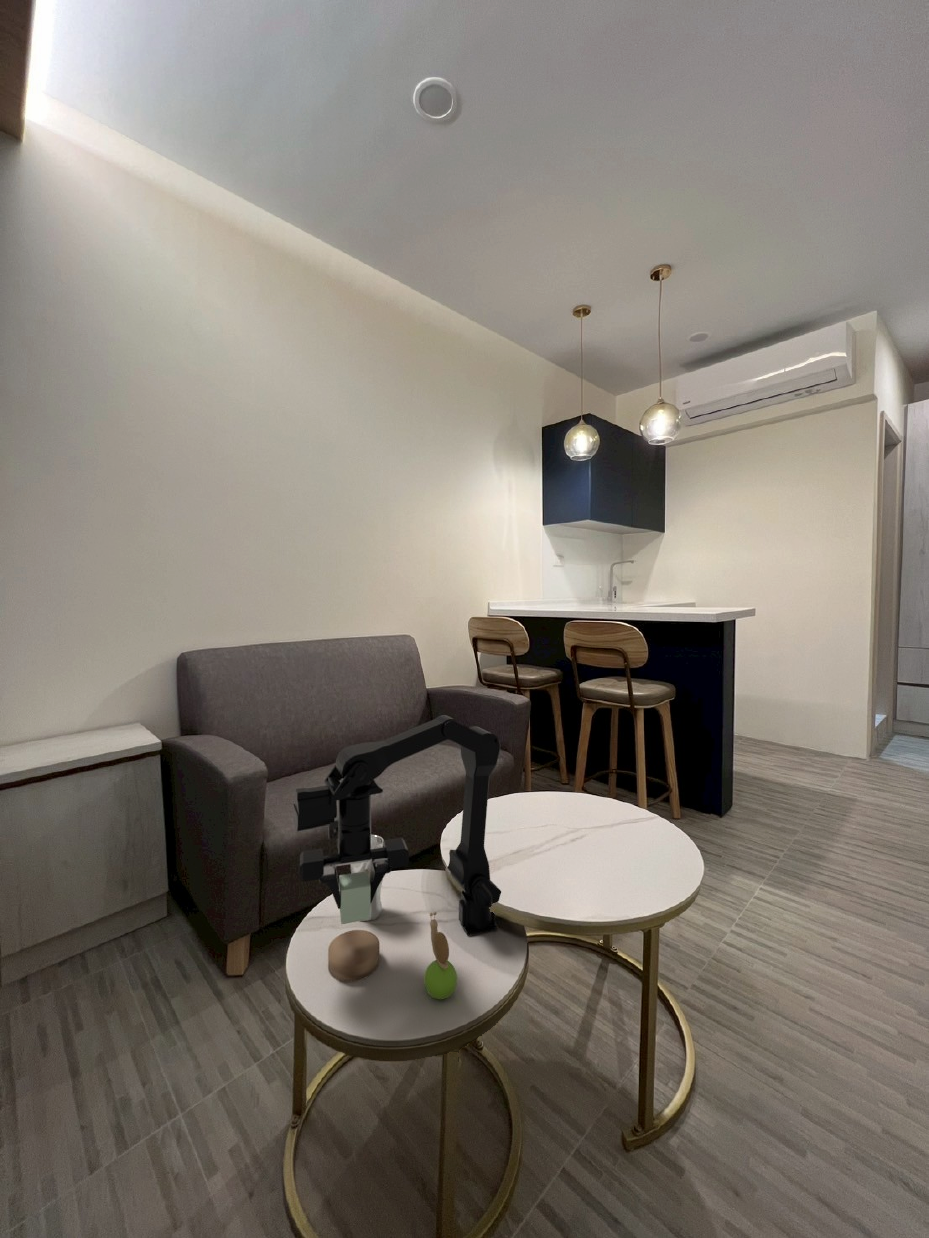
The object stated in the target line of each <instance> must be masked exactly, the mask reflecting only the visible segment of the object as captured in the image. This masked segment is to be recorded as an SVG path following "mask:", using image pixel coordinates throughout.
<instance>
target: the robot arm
mask: <svg viewBox="0 0 929 1238" xmlns="http://www.w3.org/2000/svg"><path fill="white" fill-rule="evenodd" d="M449 740H450V741H452V742H454V743H455V744H457V745H460V756H461V759H462V763H463V766H464V770H465V780H464V781H465V782H464V790H463V791H464V795H463V804H462V805H463V806H462V807H463V808H462V819H461V829H460V830H461V831H460V833H461V834H460V841H459V844H458V845H457V847H456V849H449V853H448V854H449V862H448V866H447V869H448V871H449V873H450V876H451V878H452V879H453V880H454V881H455V883H457V885H458V886H459V888H460V889H462V890H461V899H459V900H458V921H459V923H460V926H461V927H462V928H463V929H464V931H465V934H466V935H467V936H475V935H480V934H483V933H488V932H495V931H498V930H499V926H498V924H497V922H496V913H495V914H494V913H493V912H490V909H489V907H491V906H492V904H493V903H495V904H496V903H499V901H500V897H501V894H502V890H501V889H500V888H499V887H498V886H497V885H496V884H495V883H494V882H493V881H492V880H491V870H490V864H489V860H488V856H487V853H486V852H487V851H486V849H485V838H486V825H487V824H486V823H487V812H488V801H489V800H488V799H489V786H490V777H491V774H492V772H493V771H494V770H495V768H496V766H497V764H498V760H499V757H500V751H501V742H500V739H499V738H498V737H497V735H495V734H494V733H492V732H490V731H487V730H485V729H483V728H481V727H479V726H476V725H473V726H469V727H468V726H465V725H464V724H463V723H460V722H458V720H456V719H455V718H452V717H451V716H449V715H445V714H442V715H438V716H437V717H436V718H434V719H431V720H429V721H427V722H424V723H422V724H420V725H417V726H415V727H411V728H410V729H407V730H405V731H402V732H400V733H397V734H396V735H395V734H394V735H393V736H390V737H388V738H385V739H384V740H377V741H368V742H361V743H357V744H352V745H349V746H345V747H343V748H342V749H341V750H340V751H339V753H338V754H337V757H336V759H335V764H334V766H333V767H332V768H331V770H330V772H329V773H328V775H327V776H326V777H325V779H324V780H323V783H324V784H325V785H321V786H315V787H309V788H308V787H307V788H306V787H301V788H296V789H295V796H294V799H293V800H294V801H293V804H292V817H293V818H292V819H293V826H294V827H293V828H294V831H295V832H297V833H298V832H301V831H302V832H303V831H307V830H312V829H318V828H323V827H328V832H327V833H328V840H329V841H331V840H336V848H337V850H338V851H337V852H338V853H336V854H328V855H324V849H323V848H315V849H306V850H303V851H302V852H301V853H300V854H299V882H301V883H302V882H303V883H306V882H311V881H318V880H319V883H320V884H326V885H327V887H328V889H329V890H330V892H331V894H332V896H333V900H334V902H335V904H336V907H337V909H338V910H340V909H341V899H340V892H339V878H338V870H337V867H341V866H348V865H351V864H355V863H362V862H369V861H371V870H370V880H369V881H370V886H371V892H370V903H371V902H372V900H373V898H374V895H375V893H376V891H377V888H378V886H379V884H380V883H381V881H382V882H383V880H382V879H384V877H385V876H386V874H390V873H391V872H392V869H396V868H403V867H407V866H408V865H409V864H410V853H409V848H408V846H407V843H406V841H405V840H404V839H403V838H402V837H397V838H395V837H394V838H389V839H383V846H381V847H375V848H373V849H371V835H372V795H377V794H382V793H383V792H384V789H383V788H382V787H381V786H380V785H379V784H378V782H376V781H375V779H377V778H378V777H380V776H381V775H382V774H383V773H384V772H386V770H387V769H388V768H389V767H391V766H392V765H393V764H396V763H397V762H400V761H403V760H404V759H406V758H409V757H411V756H413V755H416V754H418V753H420V752H423V751H426V750H427V749H430V748H432V747H434V746H436V745H439V744H441V743H443V742H446V741H449ZM337 801H338V802H337ZM337 815H338V817H337ZM336 818H337V820H335V819H336Z"/></svg>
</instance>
